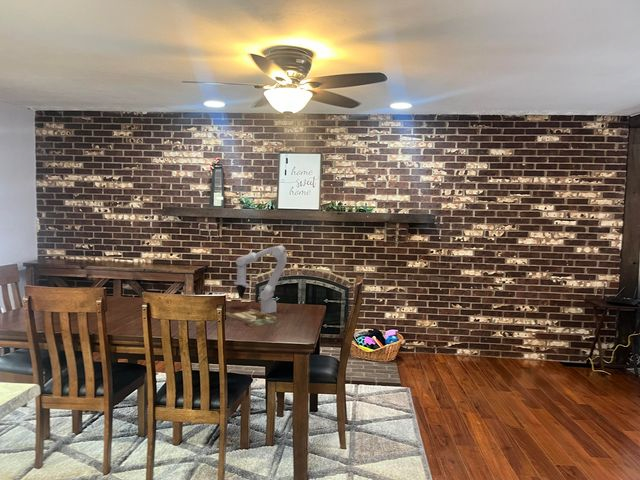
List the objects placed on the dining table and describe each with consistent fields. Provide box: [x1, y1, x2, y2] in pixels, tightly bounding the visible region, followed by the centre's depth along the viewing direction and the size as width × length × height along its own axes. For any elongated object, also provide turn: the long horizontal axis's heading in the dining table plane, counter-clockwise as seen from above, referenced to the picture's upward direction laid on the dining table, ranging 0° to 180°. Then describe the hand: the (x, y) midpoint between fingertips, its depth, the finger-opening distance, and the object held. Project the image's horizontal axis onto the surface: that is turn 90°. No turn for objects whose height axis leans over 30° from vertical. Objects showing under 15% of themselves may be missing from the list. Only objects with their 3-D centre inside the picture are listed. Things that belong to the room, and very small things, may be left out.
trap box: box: [225, 308, 278, 328], centre depth 261 cm, size 18×27×3 cm, turn 42°
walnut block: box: [255, 313, 267, 320], centre depth 253 cm, size 4×4×4 cm
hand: (241, 297), depth 280 cm, fingers closed
